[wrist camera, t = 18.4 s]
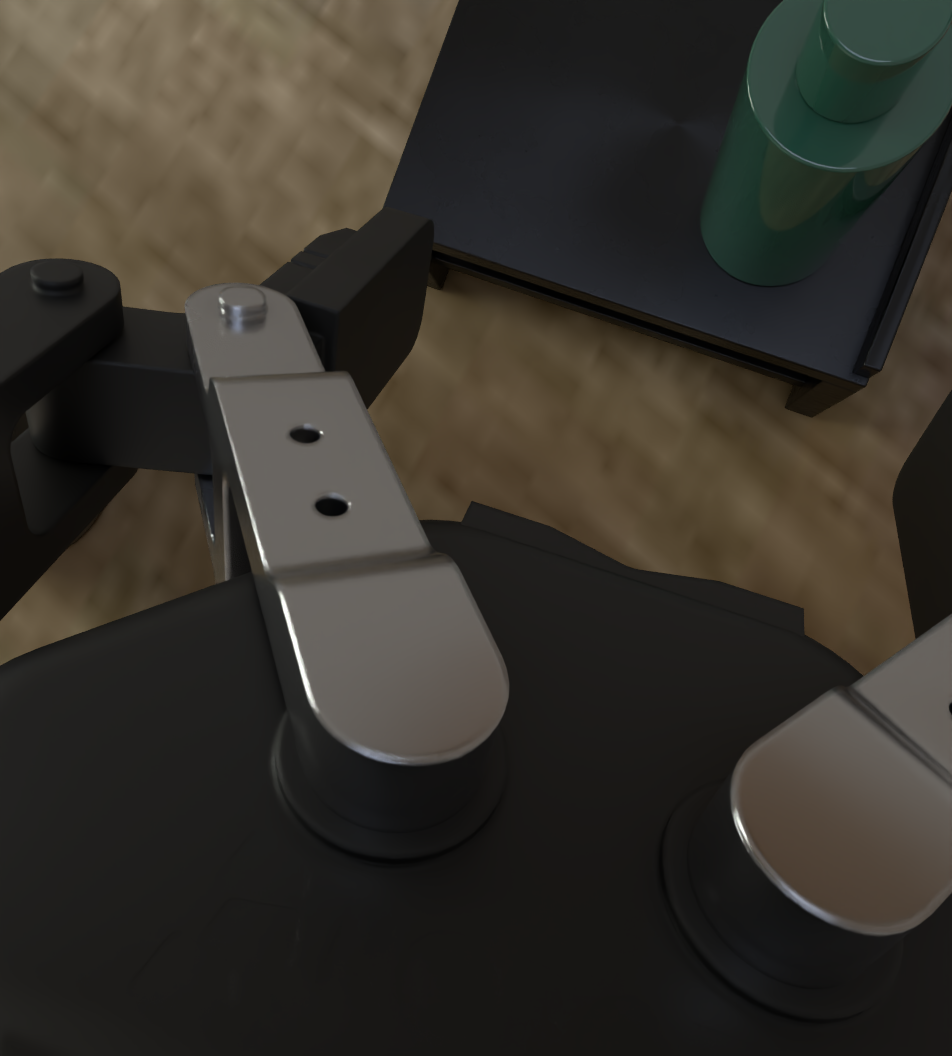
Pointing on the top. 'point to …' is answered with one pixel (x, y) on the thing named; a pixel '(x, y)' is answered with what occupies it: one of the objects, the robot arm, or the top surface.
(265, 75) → the top surface
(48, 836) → the robot arm
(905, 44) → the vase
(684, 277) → the black rectangular case
